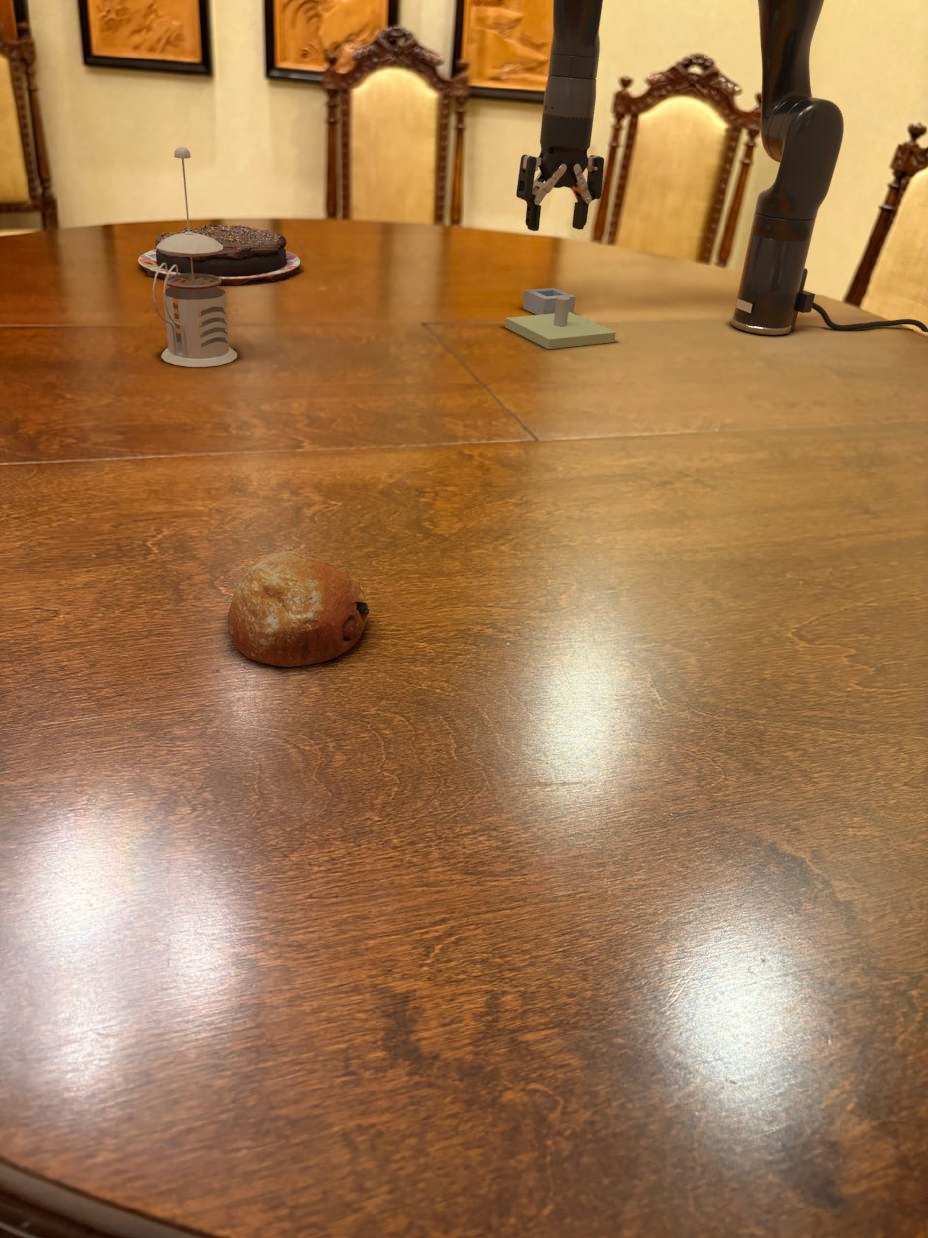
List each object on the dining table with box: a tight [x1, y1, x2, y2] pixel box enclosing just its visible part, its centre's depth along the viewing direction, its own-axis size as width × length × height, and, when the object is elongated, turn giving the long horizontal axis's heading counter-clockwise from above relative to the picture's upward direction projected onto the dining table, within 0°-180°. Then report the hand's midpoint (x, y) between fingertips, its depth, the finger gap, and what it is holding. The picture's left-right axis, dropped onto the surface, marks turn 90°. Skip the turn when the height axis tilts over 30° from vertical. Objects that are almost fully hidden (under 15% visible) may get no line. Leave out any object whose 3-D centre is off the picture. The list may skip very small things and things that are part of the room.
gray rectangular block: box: [522, 287, 577, 315], centre depth 158 cm, size 6×6×3 cm
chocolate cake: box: [137, 223, 302, 287], centre depth 170 cm, size 28×28×7 cm
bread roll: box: [226, 550, 370, 668], centre depth 72 cm, size 10×10×8 cm
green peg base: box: [504, 296, 617, 350], centre depth 146 cm, size 12×12×6 cm
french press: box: [152, 146, 238, 368], centre depth 121 cm, size 10×12×25 cm
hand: (555, 229), depth 150 cm, fingers open, 8 cm apart
